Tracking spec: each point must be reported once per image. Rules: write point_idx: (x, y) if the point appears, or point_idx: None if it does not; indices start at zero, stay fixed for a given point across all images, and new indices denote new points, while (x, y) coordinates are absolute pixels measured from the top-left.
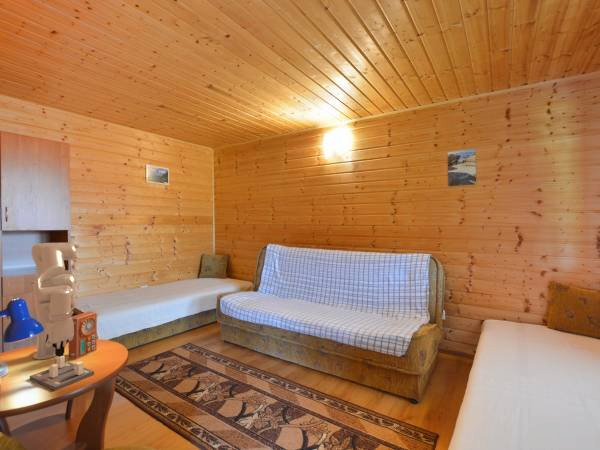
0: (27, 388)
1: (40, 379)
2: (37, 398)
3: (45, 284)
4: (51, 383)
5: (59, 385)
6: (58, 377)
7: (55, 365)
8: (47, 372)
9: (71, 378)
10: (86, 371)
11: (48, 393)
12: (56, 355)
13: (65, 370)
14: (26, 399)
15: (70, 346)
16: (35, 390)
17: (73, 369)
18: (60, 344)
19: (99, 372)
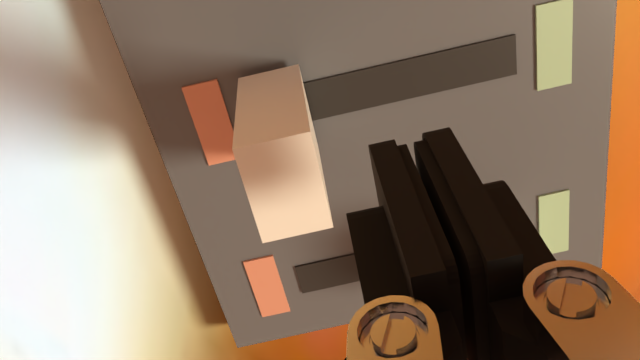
0: (19, 92)
1: (143, 61)
2: (104, 353)
3: None
4: (225, 257)
5: (272, 338)
6: None
7: (300, 224)
8: None
9: None
10: (558, 229)
11: (186, 330)
12: (371, 160)
13: (443, 5)
14: (25, 317)
15: None
16: (95, 202)
17: (513, 65)
18: (539, 338)
19: (635, 238)
